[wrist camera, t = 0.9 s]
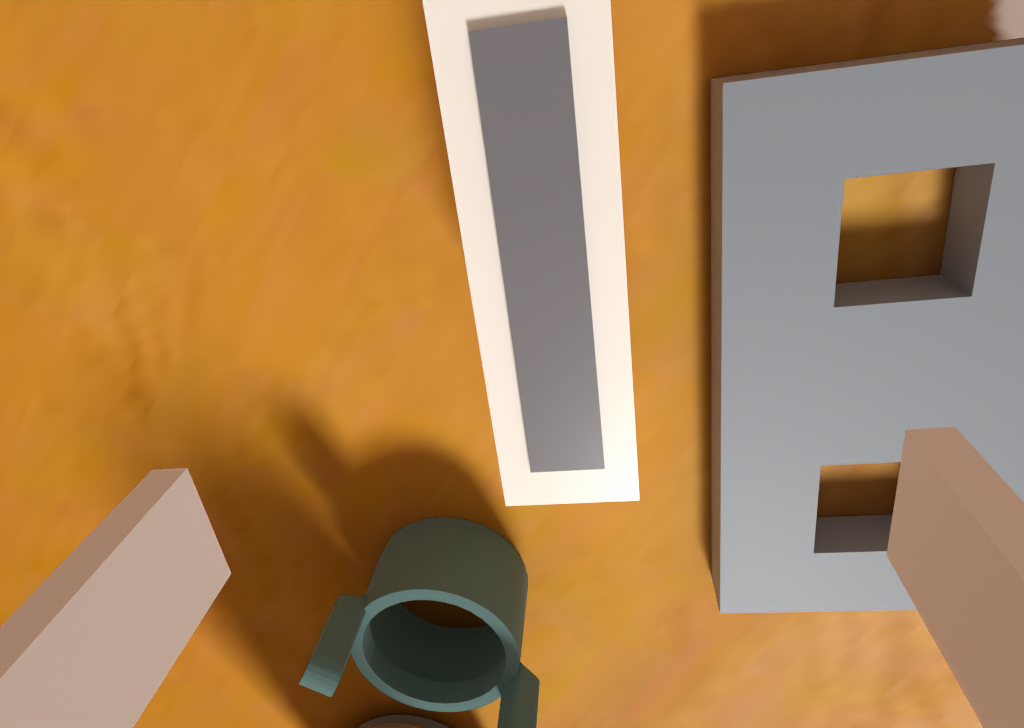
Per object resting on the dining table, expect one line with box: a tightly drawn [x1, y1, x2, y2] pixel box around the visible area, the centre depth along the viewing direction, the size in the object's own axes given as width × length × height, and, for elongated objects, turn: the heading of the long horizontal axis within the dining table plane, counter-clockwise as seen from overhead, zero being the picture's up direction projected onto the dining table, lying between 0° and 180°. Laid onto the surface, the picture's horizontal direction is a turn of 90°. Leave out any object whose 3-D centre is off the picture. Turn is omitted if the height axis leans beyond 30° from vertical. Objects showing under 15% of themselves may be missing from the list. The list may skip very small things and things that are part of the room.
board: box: [711, 38, 1024, 613], centre depth 28 cm, size 24×13×2 cm, turn 7°
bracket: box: [299, 517, 539, 728], centre depth 33 cm, size 9×9×9 cm
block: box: [422, 0, 640, 506], centre depth 23 cm, size 16×4×9 cm, turn 7°
